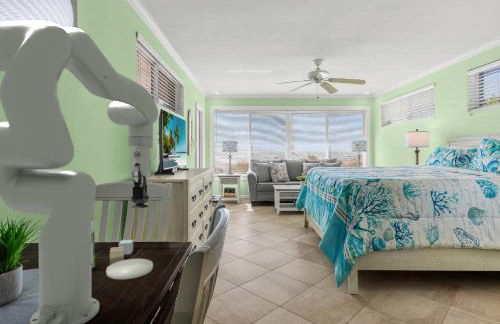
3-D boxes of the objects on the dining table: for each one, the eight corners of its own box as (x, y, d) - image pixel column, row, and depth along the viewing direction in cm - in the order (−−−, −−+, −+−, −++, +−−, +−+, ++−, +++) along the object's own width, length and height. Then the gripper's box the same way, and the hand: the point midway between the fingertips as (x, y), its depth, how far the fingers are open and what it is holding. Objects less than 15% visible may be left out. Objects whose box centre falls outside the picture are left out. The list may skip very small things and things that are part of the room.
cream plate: (149, 277, 83) (149, 273, 82) (100, 280, 80) (100, 276, 80) (155, 261, 95) (155, 257, 95) (113, 263, 93) (113, 259, 93)
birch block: (123, 262, 94) (123, 250, 94) (109, 264, 93) (109, 251, 93) (123, 258, 98) (123, 246, 98) (110, 259, 97) (110, 247, 97)
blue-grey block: (130, 254, 102) (130, 243, 102) (118, 255, 101) (118, 243, 101) (133, 250, 106) (133, 239, 106) (121, 251, 105) (121, 240, 105)
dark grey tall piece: (143, 208, 92) (144, 170, 92) (126, 207, 93) (127, 170, 93) (152, 205, 98) (153, 170, 98) (136, 205, 99) (136, 170, 99)
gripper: (148, 141, 88) (147, 201, 88) (155, 144, 105) (155, 195, 105) (122, 141, 86) (121, 201, 86) (133, 144, 103) (133, 195, 103)
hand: (139, 197), depth 95 cm, fingers closed on dark grey tall piece, 5 cm apart
